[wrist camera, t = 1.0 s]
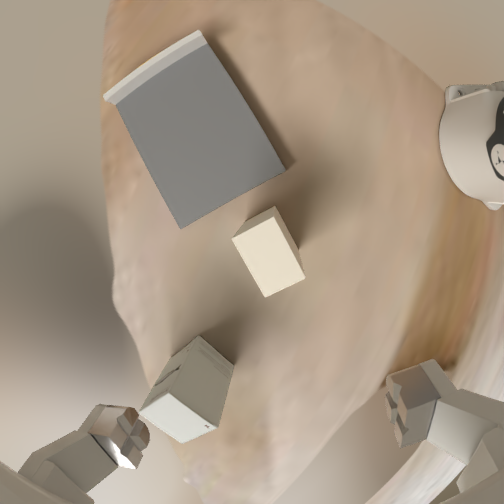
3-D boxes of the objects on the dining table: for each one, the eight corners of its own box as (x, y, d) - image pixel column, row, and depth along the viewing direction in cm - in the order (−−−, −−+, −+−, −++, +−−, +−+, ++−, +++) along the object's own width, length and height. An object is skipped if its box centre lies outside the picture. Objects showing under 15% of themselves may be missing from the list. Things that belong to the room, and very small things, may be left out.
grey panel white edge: (205, 41, 28) (197, 28, 24) (285, 170, 32) (286, 169, 28) (117, 100, 31) (102, 93, 27) (184, 227, 34) (173, 233, 30)
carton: (298, 249, 34) (305, 278, 24) (267, 265, 35) (262, 298, 25) (275, 205, 33) (273, 216, 23) (243, 222, 34) (229, 240, 24)
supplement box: (198, 332, 38) (169, 391, 26) (235, 365, 39) (220, 429, 27) (168, 357, 40) (136, 412, 28) (203, 387, 41) (182, 446, 29)
